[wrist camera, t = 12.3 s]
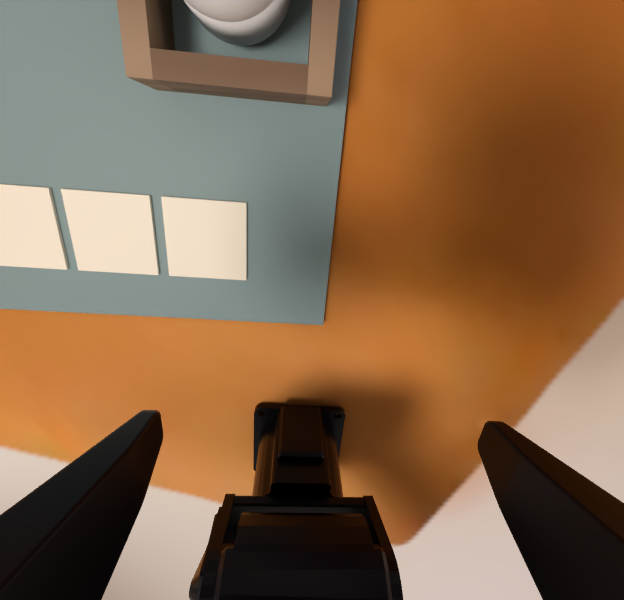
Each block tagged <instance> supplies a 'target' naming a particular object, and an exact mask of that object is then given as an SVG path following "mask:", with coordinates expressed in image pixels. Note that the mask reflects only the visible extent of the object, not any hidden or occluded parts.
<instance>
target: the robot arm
mask: <svg viewBox="0 0 624 600" xmlns="http://www.w3.org/2000/svg"><path fill="white" fill-rule="evenodd" d="M259 411H264V412H259ZM337 413H339V415H336V414H337ZM344 419H345V413H344V410H343V408H341V407H329V406H299V405H270V404H260V405H257V406H256V407H255V412H254V470H255V471H256V472H255V479H254V487H253V495H252V496H235V494H226V495H225V498H224V502H223V505H222V507H219V510H218V513H217V514H216V515H215V517H214V522H213V526H212V530H211V535H210V539H209V543H208V545H207V548H206V551H205V553H204V555H203V557H202V560H201V562H200V564H199V566H198V568H197V570H196V573H195V575H194V577H193V579H192V582H191V585H190V590H189V598H190V600H403V594H402V586H401V580H400V575H399V569H398V565H397V561H396V558H395V555H394V552H393V549H392V546H391V544H390V541H389V538H388V536H387V533H386V530H385V528H384V525H383V522H382V520H381V517H380V514H379V512H378V509H377V506H376V504H375V501H374V499H373V496H363V497H343V492H342V484H341V477H340V469H339V462H338V458H339V451H340V445H341V438H342V432H343V426H344ZM162 440H163V429H162V422H161V415H160V412H159V411H157V410H143V411H141V412H139V413H138V414H137V415H135V416H134V417H132V418H131V419H130V420H128V421H127V422H126V423H124V424H123V425H122V426H120V427H119V428H118V429H116V430H115V431H114V432H112V433H111V434H109V435H108V436H107V437H105V438H104V439H103V440H101V441H100V442H99V443H97V444H96V445H95V446H93V447H92V448H91V449H89V450H88V451H86V452H85V453H84V454H82V455H81V456H80V457H78V458H77V459H76V460H74V461H73V462H72V463H70V464H69V465H68V466H66V467H65V468H63V469H62V470H61V471H59V472H58V473H57V474H55V475H54V476H53V477H51V478H50V479H49V480H47V481H46V482H45V483H43V484H42V485H40V486H39V487H38V488H36V489H35V490H34V491H33V492H31V493H30V494H28V495H27V496H26V497H24V498H23V499H22V500H20V501H19V502H17V503H16V504H15V505H14V506H12V507H11V508H10V509H8V510H7V511H5V512H4V513H3V514H1V515H0V600H101V599H102V597H103V594H104V592H105V589H106V587H107V585H108V583H109V581H110V578H111V576H112V574H113V571H114V569H115V566H116V564H117V562H118V560H119V557H120V555H121V552H122V550H123V548H124V546H125V543H126V541H127V539H128V536H129V534H130V532H131V529H132V527H133V525H134V522H135V520H136V518H137V515H138V513H139V511H140V508H141V506H142V503H143V501H144V498H145V494H146V492H147V489H148V486H149V482H150V479H151V476H152V473H153V470H154V467H155V463H156V460H157V457H158V454H159V451H160V447H161V444H162ZM478 451H479V454H480V456H481V459H482V462H483V465H484V467H485V470H486V473H487V475H488V478H489V481H490V484H491V486H492V489H493V492H494V495H495V497H496V500H497V502H498V505H499V507H500V509H501V512H502V514H503V516H504V518H505V520H506V523H507V524H508V527H509V529H510V531H511V533H512V535H513V537H514V540H515V542H516V544H517V546H518V548H519V550H520V552H521V554H522V556H523V558H524V561H525V563H526V565H527V567H528V569H529V571H530V573H531V575H532V577H533V580H534V582H535V584H536V586H537V588H538V590H539V592H540V595H541V597H542V599H543V600H624V503H622V502H621V501H620V500H618V499H617V498H615V497H614V496H612V495H611V494H609V493H608V492H606V491H605V490H603V489H602V488H600V487H599V486H597V485H596V484H594V483H593V482H591V481H590V480H588V479H587V478H586V477H584V476H583V475H581V474H579V473H578V472H577V471H575V470H574V469H572V468H571V467H569V466H567V465H566V464H565V463H563V462H562V461H560V460H559V459H557V458H556V457H554V456H553V455H551V454H550V453H548V452H547V451H545V450H544V449H542V448H541V447H539V446H538V445H537V444H535V443H534V442H532V441H531V440H529V439H527V438H526V437H525V436H523V435H522V434H520V433H519V432H517V431H516V430H514V429H513V428H511V427H510V426H508V425H507V424H505V423H504V422H501V421H487V422H486V423H485V425H484V427H483V430H482V433H481V435H480V438H479V440H478Z"/></svg>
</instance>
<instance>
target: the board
mask: <svg viewBox="0 0 624 600" xmlns="http://www.w3.org/2000/svg"><path fill="white" fill-rule="evenodd" d="M311 2H312V0H291V2H290V6H289V9H288V12H287V14H286V16H285V18H284V20H283V22H282V23H281V25H280V26H279V27H278V29H277V30H276V31H275V32H274V33H273V34H272V35H271V36H270V37H268V38H267V39H265V40H263V41H261V42H259V43H257V44H253V45H248V46H238V45H232V44H229V43H226V42H224V41H222V40H220V39H218V38H217V37H215V36H214V35H212V34H211V33H210V32H209V31H208V30H207V29H206V28H205V27H204V26H203V25H202V24H201V23H200V22H199V20H198V19H197V17H196V16H195V15H194V13H193V12H192V11H191V9H190V8H189V7H188V5H187V4H186V3H185V1H184V0H172V14H173V28H174V41H175V51H183V52H192V53H202V54H211V55H221V56H230V57H240V58H249V59H258V60H268V61H277V62H287V63H296V64H306V65H308V51H309V35H310V19H311ZM356 10H357V0H340V8H339V20H338V31H337V42H336V53H335V64H334V76H333V87H332V97H331V99H330V101H329V102H328V104H327V105H326V107H325V106H315V105H304V104H294V103H284V102H274V101H263V100H253V99H243V98H233V97H222V96H212V95H202V94H192V93H181V92H171V91H161V90H155V89H153V88H151V87H148V86H146V85H144V84H141V83H139V82H137V81H135V80H132V79H130V78H128V77H126V72H125V64H124V56H123V48H122V40H121V32H120V24H119V16H118V8H117V0H0V309H17V310H37V311H56V312H76V313H96V314H115V315H135V316H155V317H174V318H194V319H213V320H233V321H253V322H272V323H292V324H312V325H323V322H324V312H325V303H326V293H327V284H328V274H329V265H330V256H331V246H332V237H333V227H334V218H335V208H336V199H337V189H338V180H339V170H340V161H341V152H342V142H343V133H344V123H345V114H346V104H347V95H348V85H349V76H350V66H351V57H352V48H353V38H354V29H355V19H356Z"/></svg>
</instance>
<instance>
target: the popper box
mask: <svg viewBox="0 0 624 600" xmlns="http://www.w3.org/2000/svg"><path fill="white" fill-rule="evenodd" d="M117 8H118V16H119V24H120V32H121V40H122V48H123V56H124V64H125V72H126V77H128V78H130V79H132V80H135V81H137V82H139V83H141V84H144V85H146V86H148V87H151V88H153V89H155V90H161V91H171V92H181V93H192V94H202V95H212V96H222V97H233V98H243V99H253V100H263V101H274V102H284V103H294V104H304V105H315V106H325V107H326V105H327V104H328V102H329V101H330V99H331V97H332V87H333V76H334V64H335V53H336V42H337V31H338V20H339V8H340V0H312V2H311V19H310V35H309V51H308V65H306V64H296V63H287V62H277V61H268V60H258V59H249V58H240V57H230V56H221V55H211V54H202V53H192V52H183V51H175V41H174V28H173V14H172V0H117Z"/></svg>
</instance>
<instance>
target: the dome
mask: <svg viewBox="0 0 624 600" xmlns="http://www.w3.org/2000/svg"><path fill="white" fill-rule="evenodd" d="M184 1H185V3H186V4H187V5H188V7H189V8H190V9H191V11H192V12H193V13H194V15H195V16H196V17H197V19H198V20H199V22H200V23H201V24H202V25H203V26H204V27H205V28H206V29H207V30H208V31H209V32H210V33H211V34H212V35H214V36H215V37H217V38H218V39H220V40H222V41H224V42H226V43H229V44H232V45H238V46H248V45H253V44H257V43H259V42H261V41H263V40H265V39H267V38H268V37H270V36H271V35H272V34H273V33H274V32H275V31H276V30H277V29H278V27H279V26H280V25H281V23H282V22H283V20H284V18H285V16H286V14H287V12H288V9H289V6H290V2H291V0H184Z"/></svg>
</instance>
